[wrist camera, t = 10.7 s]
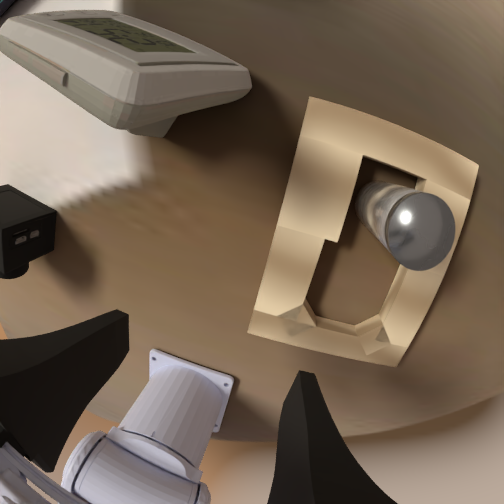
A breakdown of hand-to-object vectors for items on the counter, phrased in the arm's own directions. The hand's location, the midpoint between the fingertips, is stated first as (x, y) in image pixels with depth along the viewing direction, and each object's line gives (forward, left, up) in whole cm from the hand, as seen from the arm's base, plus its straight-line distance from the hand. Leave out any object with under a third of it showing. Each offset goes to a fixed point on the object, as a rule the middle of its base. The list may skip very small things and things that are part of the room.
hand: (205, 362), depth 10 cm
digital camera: (-2, +24, -10) cm, 26 cm away
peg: (+7, -7, -10) cm, 14 cm away
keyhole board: (+4, -7, -10) cm, 13 cm away
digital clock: (+13, +10, -10) cm, 20 cm away
